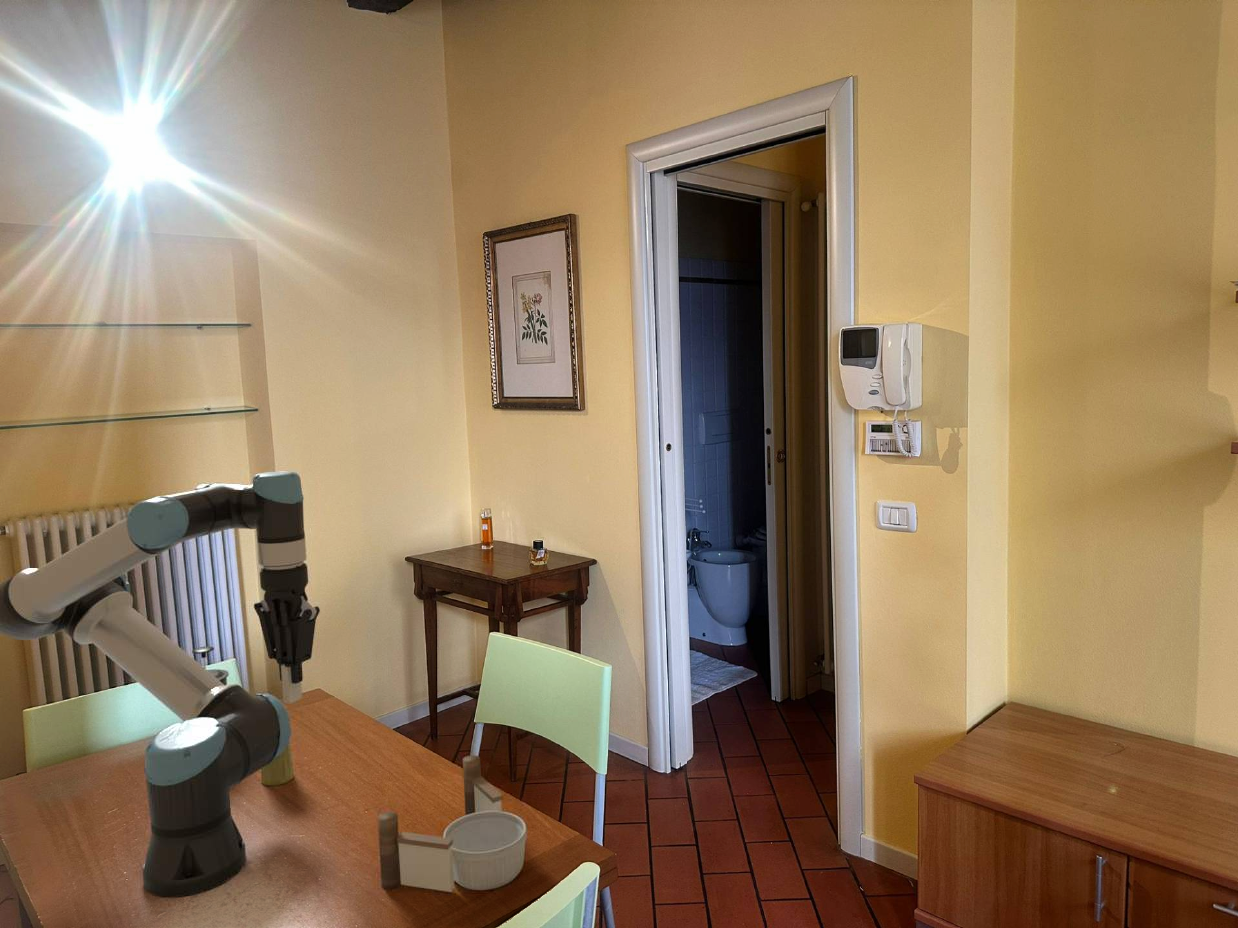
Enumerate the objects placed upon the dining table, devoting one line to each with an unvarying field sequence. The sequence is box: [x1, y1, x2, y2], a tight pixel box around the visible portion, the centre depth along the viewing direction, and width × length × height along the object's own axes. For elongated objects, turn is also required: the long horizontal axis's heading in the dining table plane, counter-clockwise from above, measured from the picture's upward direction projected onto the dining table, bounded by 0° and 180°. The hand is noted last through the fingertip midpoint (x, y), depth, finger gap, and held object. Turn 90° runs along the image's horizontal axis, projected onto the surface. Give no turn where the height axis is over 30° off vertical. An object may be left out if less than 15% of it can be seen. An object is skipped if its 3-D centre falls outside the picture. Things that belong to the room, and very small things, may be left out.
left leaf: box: [397, 831, 455, 893], centre depth 137 cm, size 8×2×8 cm, turn 74°
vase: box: [260, 705, 295, 787], centre depth 176 cm, size 6×6×14 cm
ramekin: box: [442, 810, 528, 891], centre depth 142 cm, size 13×13×7 cm
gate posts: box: [377, 754, 482, 890], centre depth 149 cm, size 25×3×11 cm, turn 154°
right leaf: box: [472, 775, 504, 813], centre depth 153 cm, size 8×2×8 cm, turn 33°
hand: (292, 699), depth 152 cm, fingers closed
